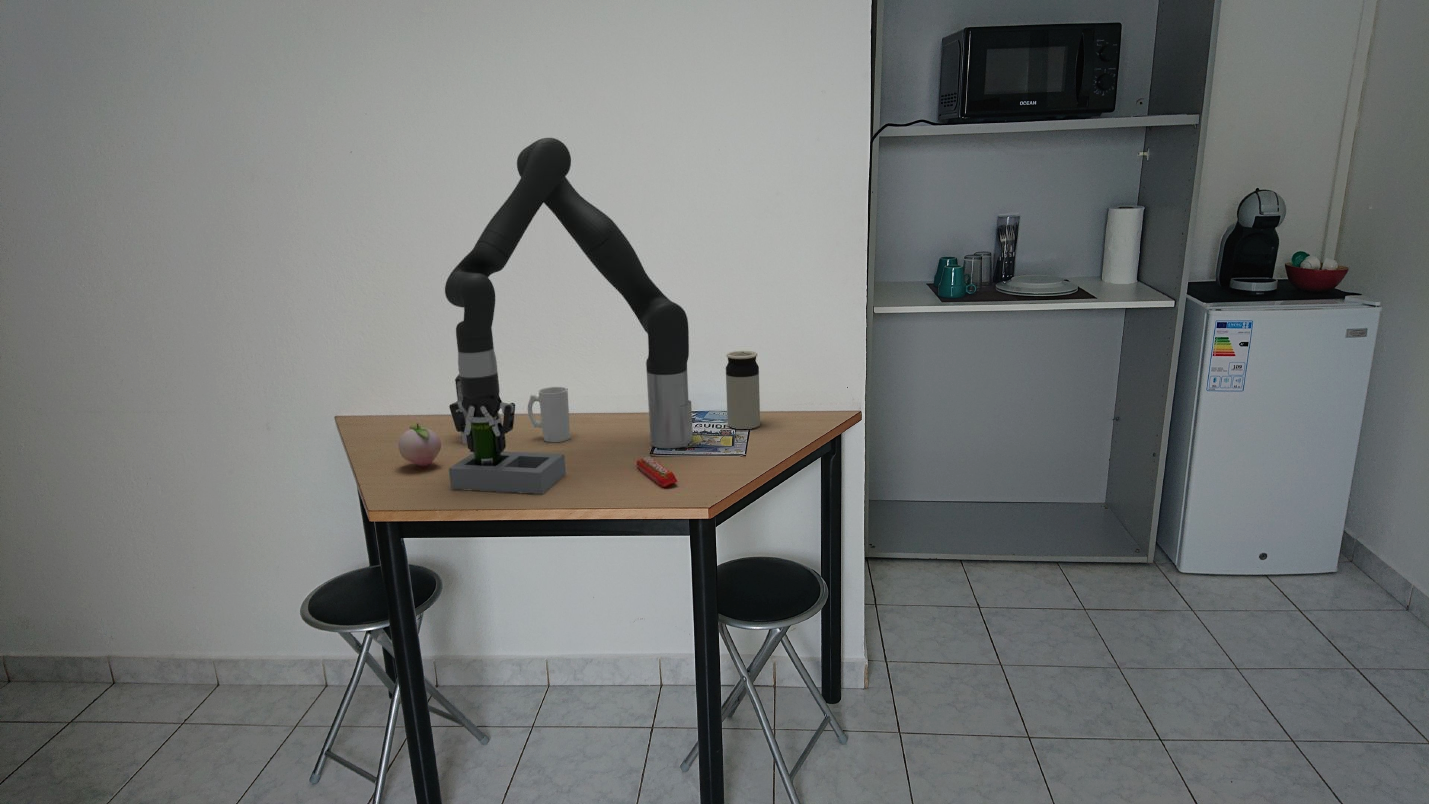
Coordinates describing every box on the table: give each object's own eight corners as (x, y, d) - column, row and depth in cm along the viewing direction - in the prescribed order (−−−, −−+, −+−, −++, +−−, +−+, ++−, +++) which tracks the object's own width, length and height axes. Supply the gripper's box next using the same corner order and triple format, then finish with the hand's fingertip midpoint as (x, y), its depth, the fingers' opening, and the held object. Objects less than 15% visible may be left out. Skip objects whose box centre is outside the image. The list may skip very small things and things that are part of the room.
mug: (575, 434, 217) (571, 386, 214) (566, 443, 211) (562, 393, 208) (535, 434, 219) (531, 386, 216) (525, 442, 212) (520, 393, 209)
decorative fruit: (393, 468, 197) (387, 424, 195) (426, 458, 203) (421, 416, 200) (416, 476, 191) (410, 431, 189) (449, 466, 197) (444, 422, 194)
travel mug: (754, 431, 214) (752, 357, 210) (723, 429, 217) (720, 356, 213) (764, 422, 222) (762, 351, 217) (734, 420, 224) (731, 349, 220)
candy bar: (634, 468, 192) (633, 455, 191) (650, 465, 193) (649, 452, 193) (662, 491, 178) (662, 477, 177) (679, 488, 179) (679, 474, 179)
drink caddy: (565, 474, 189) (564, 454, 188) (542, 494, 178) (540, 472, 177) (479, 470, 194) (477, 450, 193) (451, 489, 182) (448, 468, 181)
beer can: (504, 471, 185) (498, 415, 182) (477, 475, 183) (470, 419, 180) (500, 464, 190) (495, 409, 187) (474, 468, 188) (468, 412, 185)
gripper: (519, 368, 183) (527, 447, 187) (455, 367, 186) (464, 445, 190) (502, 376, 176) (510, 458, 180) (436, 375, 179) (446, 456, 183)
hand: (487, 451), depth 185 cm, fingers closed on beer can, 5 cm apart
